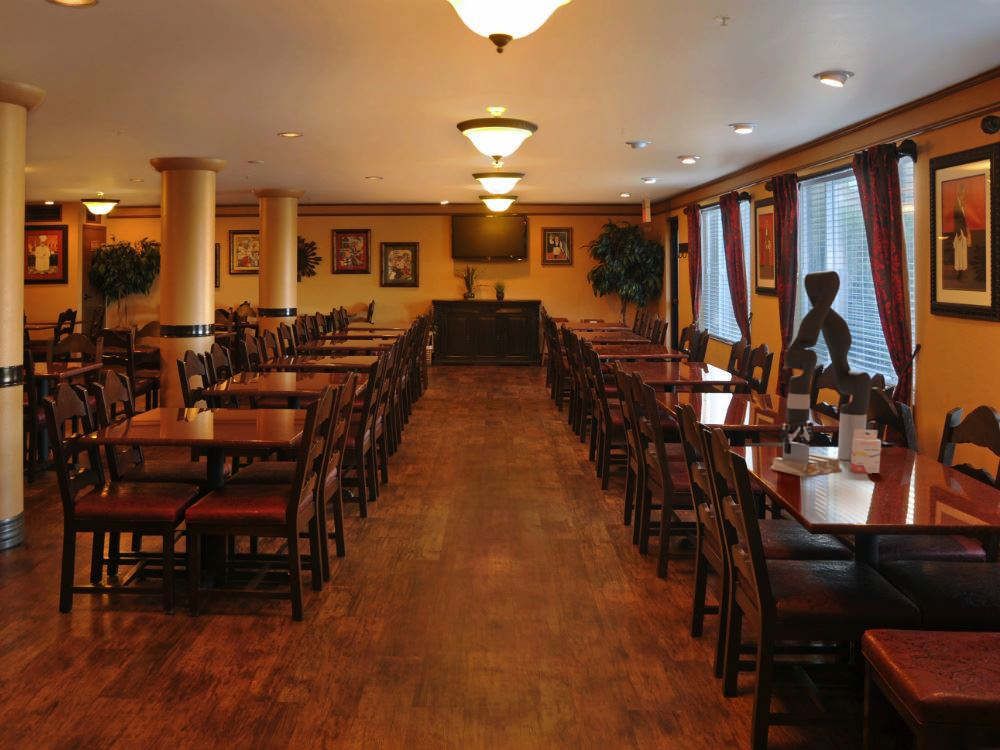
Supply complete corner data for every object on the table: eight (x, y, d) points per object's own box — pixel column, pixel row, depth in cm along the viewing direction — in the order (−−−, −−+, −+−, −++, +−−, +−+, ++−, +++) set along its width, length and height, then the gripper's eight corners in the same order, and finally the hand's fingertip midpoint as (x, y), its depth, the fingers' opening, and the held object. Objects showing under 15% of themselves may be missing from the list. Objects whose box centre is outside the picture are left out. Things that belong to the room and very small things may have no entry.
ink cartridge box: (854, 473, 320) (856, 431, 319) (850, 470, 325) (852, 428, 324) (879, 474, 319) (882, 432, 318) (875, 471, 324) (877, 429, 323)
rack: (809, 463, 335) (809, 452, 335) (841, 470, 323) (842, 459, 323) (770, 468, 324) (771, 457, 324) (802, 476, 313) (803, 464, 312)
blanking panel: (785, 465, 325) (786, 440, 324) (808, 471, 317) (809, 445, 316) (782, 466, 325) (783, 440, 324) (805, 471, 316) (806, 445, 315)
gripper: (803, 404, 325) (801, 449, 327) (775, 406, 318) (773, 452, 320) (821, 406, 319) (818, 452, 321) (793, 409, 312) (790, 456, 313)
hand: (796, 452), depth 320 cm, fingers open, 8 cm apart
